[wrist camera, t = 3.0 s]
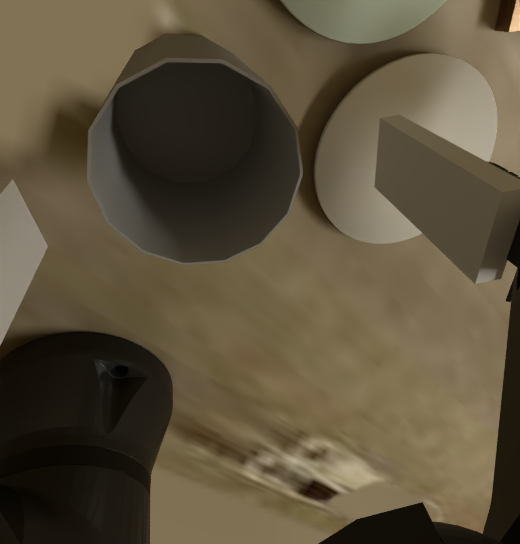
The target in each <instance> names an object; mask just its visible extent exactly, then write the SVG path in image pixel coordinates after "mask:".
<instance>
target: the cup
mask: <svg viewBox="0 0 520 544" xmlns="http://www.w3.org/2000/svg"><path fill="white" fill-rule="evenodd" d="M302 176H303V168H302V159H301V150H300V142H299V133H298V128H297V126H296V125H295V123H294V122H293V120H292V118H291V117H290V115H289V114H288V112H287V111H286V109H285V108H284V106H283V105H282V103H281V102H280V100H279V99H278V97H277V95H276V94H275V92H274V91H273V89H272V88H271V86H270V85H268V84H267V83H266V82H265V81H264V80H263V79H262V78H260V77H259V76H258V75H257V74H256V73H255V72H253V71H252V70H251V69H250V68H249V67H248V66H246V65H245V64H244V63H243V62H242V61H241V60H239V59H238V58H237V57H236V56H235V55H234V54H232V53H231V52H229V51H227V50H226V49H224V48H222V47H221V46H219V45H217V44H215V43H214V42H212V41H210V40H208V39H207V38H205V37H203V36H202V35H180V34H165V35H163V36H161V37H159V38H157V39H156V40H154V41H152V42H150V43H148V44H146V45H145V46H143V47H141V48H139V49H137V50H135V52H134V53H133V55H132V56H131V58H130V60H129V61H128V63H127V65H126V66H125V68H124V70H123V71H122V73H121V74H120V76H119V78H118V79H117V81H116V83H115V85H114V86H113V88H112V90H111V91H110V93H109V95H108V97H107V98H106V100H105V102H104V104H103V105H102V107H101V109H100V111H99V112H98V114H97V116H96V117H95V119H94V121H93V123H92V124H91V126H90V128H89V130H88V152H87V182H88V185H89V187H90V189H91V191H92V193H93V195H94V197H95V199H96V201H97V203H98V205H99V207H100V209H101V211H102V214H103V216H104V218H105V220H106V222H107V224H108V225H110V226H111V227H112V228H113V229H114V230H116V231H117V232H118V233H119V234H120V235H122V236H123V237H124V238H125V239H126V240H128V241H129V242H130V243H131V244H133V245H134V246H135V247H136V248H137V249H139V250H140V251H141V252H142V253H145V254H149V255H152V256H155V257H158V258H161V259H165V260H168V261H171V262H174V263H178V264H181V265H195V264H209V263H222V262H227V261H229V260H231V259H233V258H235V257H237V256H239V255H241V254H244V253H246V252H248V251H250V250H252V249H254V248H256V247H258V246H260V245H262V244H263V243H264V242H265V241H266V240H267V239H268V238H269V236H270V235H271V234H272V233H273V232H274V231H275V230H276V229H277V228H278V227H279V225H280V224H281V223H282V222H283V221H284V220H285V219H286V218H287V217H288V216H289V214H290V212H291V209H292V206H293V203H294V200H295V197H296V194H297V191H298V188H299V185H300V182H301V179H302Z"/></svg>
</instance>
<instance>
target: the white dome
mask: <svg viewBox="0 0 520 544" xmlns="http://www.w3.org/2000/svg"><path fill="white" fill-rule="evenodd" d="M394 115H401V116H403V117H405V118H407V119H408V120H410V121H412V122H414V123H416V124H418V125H420V126H421V127H423V128H425V129H427V130H429V131H431V132H433V133H434V134H436V135H438V136H440V137H442V138H444V139H446V140H447V141H449V142H451V143H453V144H455V145H457V146H459V147H460V148H462V149H464V150H466V151H468V152H470V153H472V154H473V155H475V156H477V157H479V158H481V159H483V160H484V161H487V162H489V160H490V158H491V155H492V152H493V148H494V145H495V140H496V135H497V123H498V121H497V108H496V103H495V98H494V96H493V93H492V90H491V88H490V86H489V85H488V83H487V81H486V79H485V78H484V77H483V76H482V75H481V73H480V72H479V71H478V70H477V69H475V68H474V67H473V66H471V65H470V64H469V63H467V62H465V61H463V60H461V59H459V58H455V57H452V56H448V55H443V54H435V53H421V54H413V55H409V56H405V57H401V58H398V59H396V60H393V61H391V62H388V63H386V64H385V65H383V66H381V67H379V68H377V69H375V70H374V71H373V72H371V73H370V74H368V75H367V76H366V77H364V78H363V79H362V80H361V81H360V82H358V83H357V84H356V85H355V86H354V87H353V88H352V89H351V90H350V91H349V92H348V93H347V94H346V95H345V97H344V98H343V99H342V100H341V101H340V103H339V104H338V106H337V107H336V108H335V110H334V111H333V113H332V115H331V116H330V118H329V120H328V122H327V123H326V125H325V128H324V130H323V132H322V135H321V137H320V140H319V144H318V147H317V150H316V156H315V162H314V184H315V190H316V194H317V198H318V201H319V203H320V206H321V208H322V209H323V211H324V213H325V214H326V216H327V217H328V219H329V220H330V221H331V222H332V223H333V225H334V226H335V227H336V228H338V229H339V230H340V231H341V232H342V233H344V234H346V235H347V236H349V237H351V238H353V239H356V240H358V241H362V242H367V243H375V244H386V243H394V242H399V241H403V240H407V239H410V238H412V237H415V236H418V235H420V234H422V232H421V231H420V230H419V229H418V228H416V227H415V226H414V225H413V224H412V223H411V222H410V221H409V220H408V219H407V218H406V217H405V216H404V215H403V214H402V213H401V212H400V211H399V210H398V209H397V208H396V207H395V206H394V205H393V204H392V203H390V202H389V201H388V200H387V199H386V198H385V197H384V196H383V195H382V194H381V193H380V192H379V191H378V190H377V189H376V188H375V187H374V185H375V172H376V160H377V147H378V135H379V122H380V118H382V117H388V116H394Z"/></svg>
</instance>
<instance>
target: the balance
mask: <svg viewBox="0 0 520 544" xmlns="http://www.w3.org/2000/svg"><path fill="white" fill-rule="evenodd" d="M519 30H520V0H502V2H501V6H500V11H499V15H498V20H497V24H496V29H495V31H504V32H513V31H519Z"/></svg>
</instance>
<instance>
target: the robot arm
mask: <svg viewBox="0 0 520 544" xmlns="http://www.w3.org/2000/svg"><path fill="white" fill-rule="evenodd" d="M374 187H375V188H376V189H377V190H378V191H379V192H380V193H381V194H382V195H383V196H384V197H385V198H386V199H387V200H388V201H389V202H390V203H392V204H393V205H394V206H395V207H396V208H397V209H398V210H399V211H400V212H401V213H402V214H403V215H404V216H405V217H406V218H407V219H408V220H409V221H410V222H411V223H412V224H413V225H414V226H415V227H416V228H418V229H419V230H420V231H421V232H422V233H423V234H424V235H425V236H426V237H427V238H428V239H429V240H430V241H431V242H432V243H433V244H434V245H435V246H436V247H437V248H438V249H439V250H440V251H441V252H443V253H444V254H445V255H446V256H447V257H448V258H449V259H450V260H451V261H452V262H453V263H454V264H455V265H456V266H457V267H458V268H459V269H460V270H461V271H462V272H463V273H464V274H465V275H466V276H467V277H469V278H470V279H471V280H472V281H473V282H474V283H475V284H478V283H482V282H487V281H492V280H497V279H501V277H502V274H503V271H504V268H505V265H506V263H507V260H508V261H510V262H511V263H512V264H514V265H515V266H516V267H517V268H518V269H517V271H516V274H515V277H514V279H513V282H512V285H511V288H510V290H509V293H508V296H507V298H506V301H508V302H510V301H511V309H510V319H509V329H508V339H507V350H506V360H505V370H504V380H503V390H502V400H501V410H500V420H499V430H498V441H497V451H496V461H495V471H494V481H493V491H492V499H491V505H490V510H489V513H488V517H487V520H486V524H485V527H484V531H483V534H481V533H479V532H477V531H473V530H470V529H467V528H464V527H461V526H457V525H452V524H446V523H441V522H432V520H431V518H430V516H429V515H428V512H427V510H426V508H425V506H424V504H423V502H422V503H418V504H414V505H410V506H407V507H403V508H399V509H395V510H391V511H387V512H383V513H379V514H376V515H372V516H368V517H364V518H360V519H357V520H355V521H354V522H352V523H350V524H349V525H347V526H346V527H344V528H343V529H341V530H339V531H338V532H336V533H335V534H333V535H331V536H330V537H328V538H327V539H325V540H324V541H322V542H320V543H319V544H520V177H519V178H518V175H516V174H514V173H512V172H508V170H506V169H505V168H503V167H501V166H499V165H497V164H495V163H491V162H487V161H484V160H483V159H481V158H479V157H477V156H475V155H473V154H472V153H470V152H468V151H466V150H464V149H462V148H460V147H459V146H457V145H455V144H453V143H451V142H449V141H447V140H446V139H444V138H442V137H440V136H438V135H436V134H434V133H433V132H431V131H429V130H427V129H425V128H423V127H421V126H420V125H418V124H416V123H414V122H412V121H410V120H408V119H407V118H405V117H403V116H401V115H394V116H388V117H382V118H380V122H379V135H378V147H377V160H376V172H375V185H374ZM47 247H48V246H47V244H46V242H45V240H44V238H43V236H42V234H41V232H40V230H39V229H38V227H37V225H36V223H35V221H34V219H33V217H32V215H31V213H30V211H29V209H28V207H27V205H26V204H25V202H24V200H23V198H22V196H21V194H20V192H19V190H18V188H17V186H16V184H15V182H14V180H13V179H10V180H4V181H0V345H1V343H2V341H3V339H4V337H5V335H6V333H7V331H8V329H9V327H10V324H11V322H12V320H13V318H14V316H15V314H16V312H17V310H18V308H19V306H20V304H21V302H22V299H23V297H24V295H25V293H26V291H27V289H28V287H29V285H30V283H31V281H32V279H33V277H34V274H35V272H36V270H37V268H38V266H39V264H40V262H41V260H42V258H43V256H44V254H45V252H46V249H47ZM172 408H173V387H172V380H171V377H170V374H169V372H168V370H167V368H166V367H165V366H164V364H163V363H162V362H161V361H160V360H159V359H158V358H157V357H156V356H155V355H154V354H152V353H151V352H149V351H148V350H146V349H145V348H143V347H141V346H139V345H137V344H135V343H132V342H130V341H127V340H124V339H121V338H117V337H113V336H108V335H102V334H93V333H69V334H60V335H54V336H49V337H45V338H41V339H38V340H35V341H32V342H29V343H27V344H25V345H23V346H21V347H19V348H17V349H16V350H14V351H12V352H11V353H10V354H8V355H7V356H6V357H5V358H3V359H2V360H1V361H0V544H150V540H149V539H150V483H151V472H152V469H153V466H154V463H155V460H156V458H157V455H158V452H159V449H160V446H161V444H162V441H163V438H164V435H165V432H166V430H167V427H168V424H169V421H170V418H171V415H172Z"/></svg>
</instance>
